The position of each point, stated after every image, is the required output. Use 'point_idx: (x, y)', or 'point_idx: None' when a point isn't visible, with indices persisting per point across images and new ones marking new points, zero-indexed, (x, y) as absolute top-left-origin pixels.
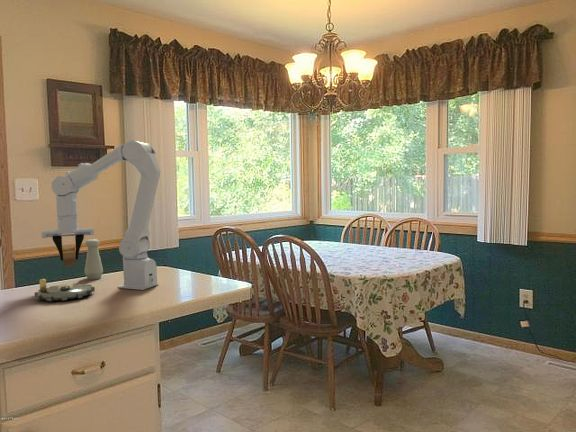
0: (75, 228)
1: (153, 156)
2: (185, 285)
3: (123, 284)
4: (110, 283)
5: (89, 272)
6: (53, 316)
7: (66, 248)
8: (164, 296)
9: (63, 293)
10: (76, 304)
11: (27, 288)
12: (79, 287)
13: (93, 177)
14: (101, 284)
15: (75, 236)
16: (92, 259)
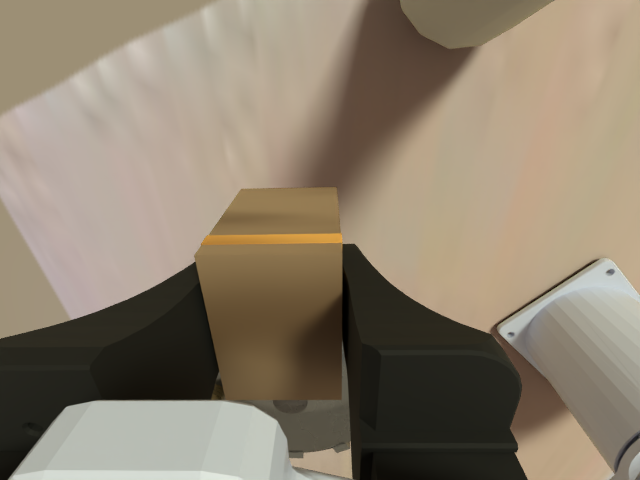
0: None
1: None
2: None
3: (534, 307)
4: (499, 210)
5: (429, 37)
6: None
7: (249, 333)
8: (580, 468)
9: (290, 433)
10: (331, 454)
11: (77, 140)
12: (344, 378)
13: None
14: (452, 214)
15: (364, 466)
16: (505, 12)
